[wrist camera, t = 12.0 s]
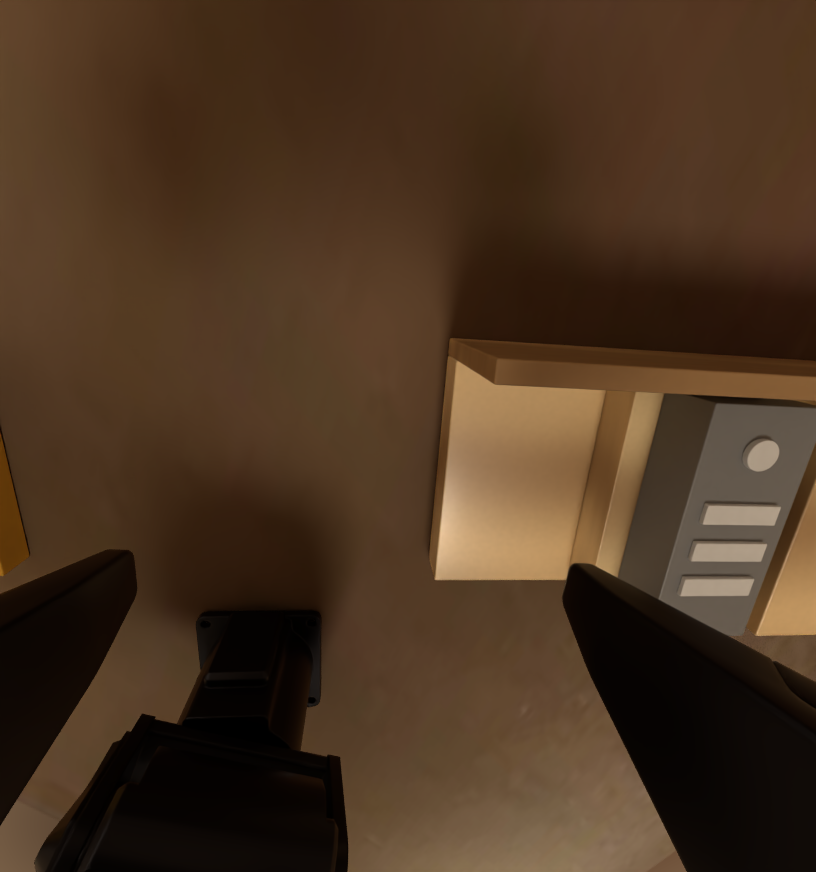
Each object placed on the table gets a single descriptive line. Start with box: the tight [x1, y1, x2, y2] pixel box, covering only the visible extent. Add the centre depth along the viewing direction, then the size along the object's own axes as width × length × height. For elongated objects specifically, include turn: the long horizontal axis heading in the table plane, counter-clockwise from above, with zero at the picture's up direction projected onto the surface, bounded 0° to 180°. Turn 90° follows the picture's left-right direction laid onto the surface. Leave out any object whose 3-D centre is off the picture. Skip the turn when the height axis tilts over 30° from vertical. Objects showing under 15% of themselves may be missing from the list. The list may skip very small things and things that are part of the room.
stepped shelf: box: [429, 338, 816, 636], centre depth 19 cm, size 12×21×8 cm, turn 86°
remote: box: [618, 393, 816, 636], centre depth 17 cm, size 10×4×3 cm, turn 176°
